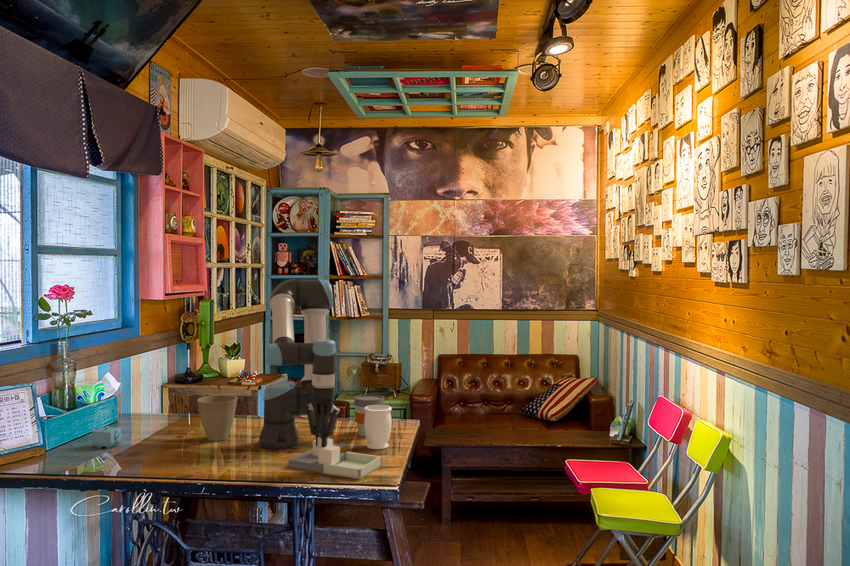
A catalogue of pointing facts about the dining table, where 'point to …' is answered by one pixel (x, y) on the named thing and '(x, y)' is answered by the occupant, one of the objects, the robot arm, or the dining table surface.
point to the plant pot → (217, 415)
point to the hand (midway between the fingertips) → (321, 456)
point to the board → (310, 461)
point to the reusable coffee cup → (360, 412)
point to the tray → (354, 466)
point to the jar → (377, 426)
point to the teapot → (106, 437)
